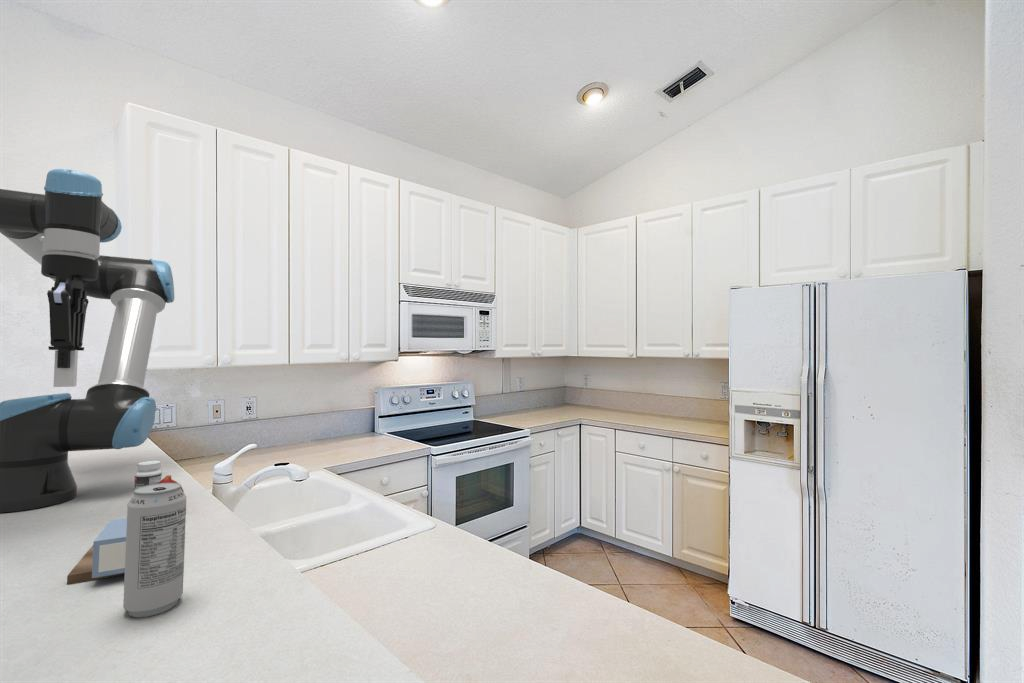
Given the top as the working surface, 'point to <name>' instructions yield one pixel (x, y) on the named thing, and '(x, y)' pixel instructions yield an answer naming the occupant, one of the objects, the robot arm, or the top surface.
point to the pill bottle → (147, 474)
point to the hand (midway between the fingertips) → (65, 386)
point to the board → (85, 570)
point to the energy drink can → (154, 549)
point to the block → (110, 549)
